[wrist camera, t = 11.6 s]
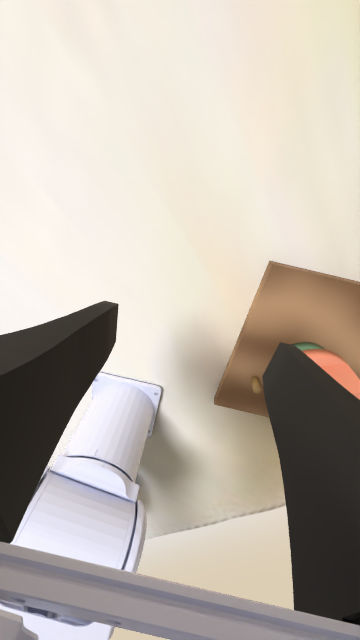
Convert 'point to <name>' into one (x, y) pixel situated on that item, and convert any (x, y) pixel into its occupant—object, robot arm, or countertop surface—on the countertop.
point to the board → (290, 329)
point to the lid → (336, 369)
